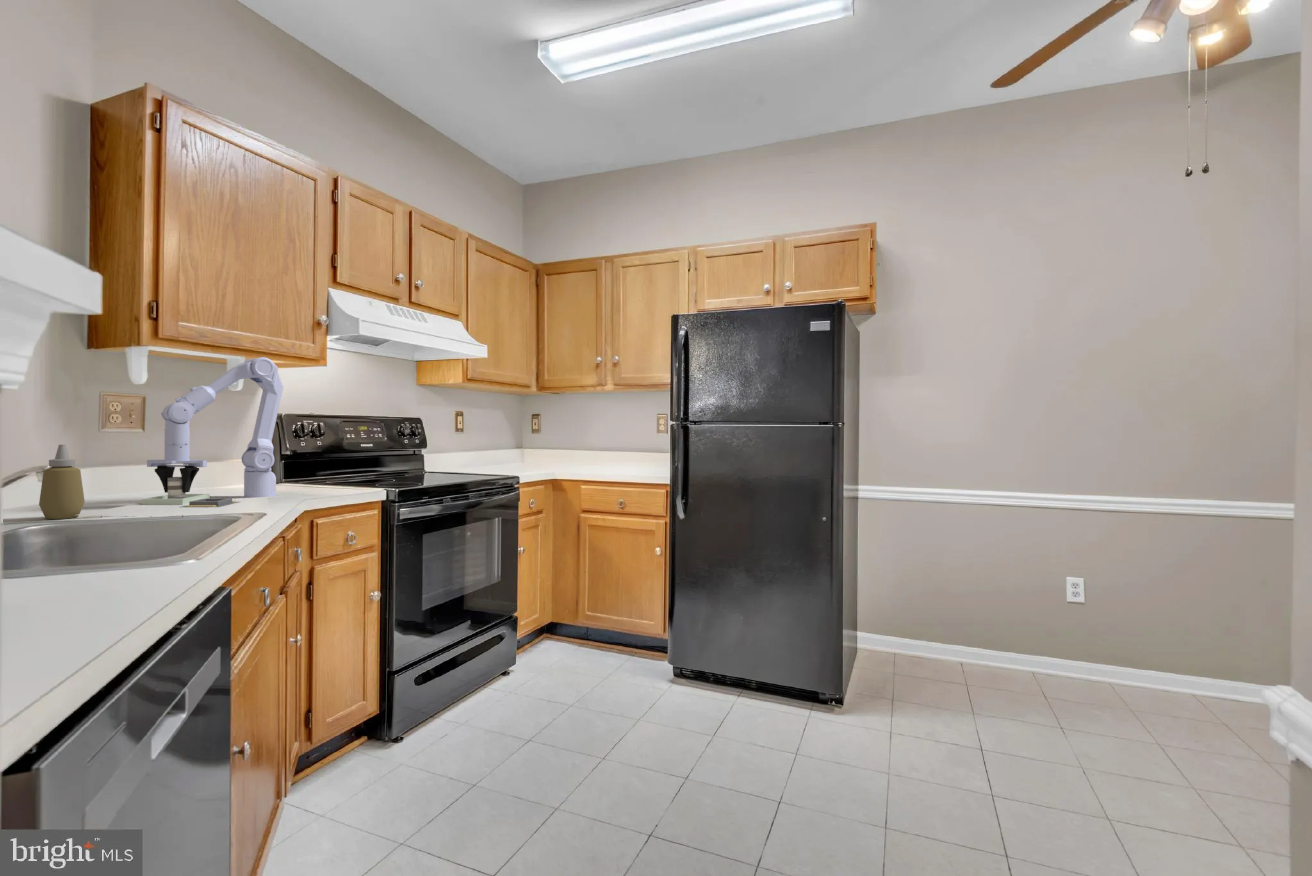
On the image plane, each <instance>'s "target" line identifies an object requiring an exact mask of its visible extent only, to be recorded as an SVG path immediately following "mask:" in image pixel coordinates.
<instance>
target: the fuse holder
mask: <svg viewBox="0 0 1312 876" xmlns="http://www.w3.org/2000/svg"><path fill="white" fill-rule="evenodd" d="M238 503H240V501H236V500H233V498H228V497H227V498H226V497H225V498H223V497H222V498H216V497H215V498H213V497H212V498H211V497H210V498H204V499H199V500H195V501H190V502H189V504H185V505H182V506H181V505H180V508H221V507H226V506H230V505H234V504H238Z"/></svg>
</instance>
